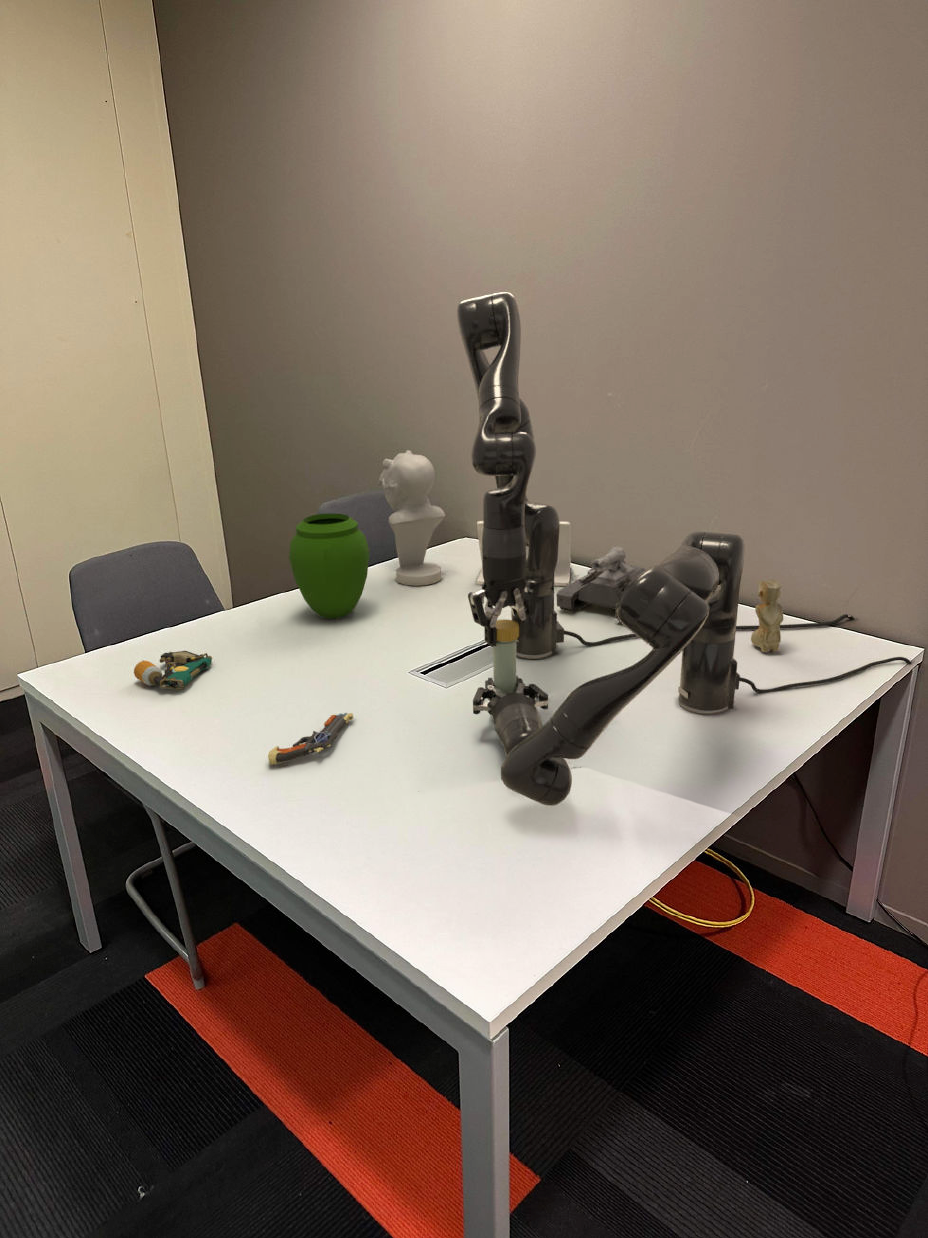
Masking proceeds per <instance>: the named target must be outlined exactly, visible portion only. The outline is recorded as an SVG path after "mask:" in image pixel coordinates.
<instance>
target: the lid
mask: <svg viewBox="0 0 928 1238" xmlns="http://www.w3.org/2000/svg"><path fill="white" fill-rule="evenodd" d="M495 627H497V641H501V642H508V641H513V640H516V639H517V638H518V637H519V624H518V623H517V622H516V621H513V620H511V619H497V622H496V625H495Z"/></svg>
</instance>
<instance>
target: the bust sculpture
mask: <svg viewBox="0 0 928 1238" xmlns="http://www.w3.org/2000/svg"><path fill="white" fill-rule="evenodd" d="M382 465H383V467H384V469H383V471H382V472H381V474H380V476H379V479H378V486H382V488H383V491H384V497H385V500H386V502H387V504H388V505H389V506H390V508H391V509H392V510H393V513H392V514H391V515H390V516H389V517H388V524H389V527H390V528H391V531H393V533H394V540H395V548H396V554H397V559H398V564H399V566H398V567H397V568H396V569H395V575H396V576H395V578H396V582H398V583H399V584H402V585H406V586H416V587H417V586H429V585H432V584H435V583H438V582H440V581H441V580H442V579H443V575H442V573H443V572H442V566H440V565H438V564H435V563H429V562H425V557H426V554H427V551H428V547H429V544H430V542H431V538H432V536H433V534H434V532H435V530H436V528H437V527H438V525H440V523H441V522H442V521H443V520H444V519H445V518H446V513H445V511H444V510H443V509H442V507H439V506H437V505H431V502H430V499H429V496H428V494H429V493H430V492H431V490H432V488H433V485H434V481H435V468H434V466H433V463H432V462H431V461H430V460H429V459H428V458H427V457H426V456H424V455H421V454H413V452H412V451H411V450H409V449H406V451H405V452H402V453H401V452H400V453H398V454H396V456H394V458H393V459H390V458H384V460H383V461H382Z"/></svg>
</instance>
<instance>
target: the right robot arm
mask: <svg viewBox="0 0 928 1238" xmlns="http://www.w3.org/2000/svg"><path fill="white" fill-rule="evenodd" d="M745 551H746V547H745V541H744V539H743V537H742V536H741V535H738V534H733V533H720V532H709V531H694V532H691V533H689V534H688V535H687V536H686V537H685V538H684V539H683V541H682V542H681V544H680V545H679V547H678V548H677V549H676V550H675V551H674V552H672V553H670V554H669V555H668V556H666V558H664V559H663V560H662V561H661V562H660V563H659V564H656V565H653V566H651V567H649V568H647V569H645V571H643V572H642V573H641V574H639V575H638V576H637V577H636V578H634V579H633V580H632V581H631V582H630V583H629V585H628V586H627V587H626V588H625V590H624V591H623V592H622V594H621V596H620V598H619V600H618V603H617V608H616V613H617V617H618V619H619V620H618V619H617V620H618V621H620V623H621V624H622V625H623V626H624V627H625V628H627V630H629V631H630V632H631V633H632V634H635V635H637V636H638V637H637V638H639V639H640V640H641V641H643V642H644V643H646V644H648V646H650V648H651V650H650V652H648V653H647V654H646V655H645V656H644V657H643V658H642V659H639V661H637V662H636V663H634V664H632V665H630V666H628V667H625V668H624V669H620V670H618V671H615V672H611V673H609V674H606V675H603V676H599V677H596V678H594V679H591V680H588V681H585V682H584V683H582V684H580V685H579V686H577V687H576V688H575V689H574V690H572V691H571V692H570V693H569V694H568V695H567V696H566V698H565V699H564V700H563V702H562V703H561V704H560V705H559V707H558V708H557V709H556V710H555V712H554V713H553V715H552V716H551V717H550V719H548V721H547V722H546V723H545V724H543V722H542V720H541V718H540V714H539V712H538V710H537V708H540V709H542V710H548V709H549V698H550V697H549V694H548V693H546V691H544V690H543V689H541V688H540V687H539V686H537V684H535V683H528V685H526V684H525V682H524V681H523V679H522V678H521V677H519V676H518V675H516V692H513V693H503V692H502V691H501V690H500V689H499V688H495V685H494V678H493V677H487V679H486V680H485V681H484V687H482V686H480V687H477V689H476V692H475V694H474V696H473V699H472V714H474V715H479V714H481V712H484V711H485V712H487V713H488V714H489V715H490V716H491V717H492V720H493V723H494V727H495V732H496V735H497V737H498V739H499V742H500V743H501V745H502V747H503V750H504V753H505V758H504V759H503V761H502V764H501V768H500V776H501V777H500V778H501V781H502V783H503V785H504V786H505V787H506V788H507V789H509V790H511V791H512V792H515V793H517V794H519V795H521V796H523V797H526V798H527V799H530V800H532V801H535V802H537V803H539V804H541V805H544V806H550V807H551V806H556V805H559V804H561V803H562V802H564V801H565V800H566V799H567V797H568V795H569V794H570V792H571V788H572V783H573V775H572V771H571V768H570V766H569V763H568V762H567V760H578V759H580V758H582V757H584V755H586V753H587V752H588V751H589V750H590V748H591V747H593V744H594V743H595V742H596V741H597V740H598V738H599V737H600V736H601V735H602V734H603V732H604V731H605V730H606V729H607V727H608V726H609V725H610V724H611V723H612V722H613V720H615V718H617V716H618V715H619V714H620V713H621V712H622V711H623V710H624V709H625V708H626V707H627V706H628V705H630V703H631V702H632V701H633V700H634V699H635V698H636V697H638V696H639V695H640V694H641V693H642V692H643V691H644V690H645V689H646V688H648V686H649V685H650V684H651V683H652V682H653V681H654V680H655V679H656V678H657V677H658V676H659V675H660V674H661V673H662V672H664V670H665V669H666V668H667V667H668V666H669V665H670V664H671V663H672V662H673V661H674V660H675V659H676V658H677V657H678V656H679V655H680V654H681V664H680V676H679V677H680V678H679V686H678V691H677V692H678V700H677V701H678V704H679V705H680V707H681V708H683V709H685V710H687V711H688V712H692V713H695V714H701V715H717V714H722V713H724V712H726V711H728V710H731V709H732V710H733V709H734V706H735V694H736V691H737V690H739V689H740V682H741V683H745V684H747V685H748V686H750V687H751V689H752V690H753V691H754V692H755V693H758V694H767V693H774V692H780V691H783V690H787V689H791V688H798V687H799V688H800V687H807V686H814V685H821V684H826V683H831V682H835V681H838V680H842V679H844V678H847V677H849V676H852V675H855V674H857V673H860V672H862V671H866V670H867V669H870V668H872V667H875V666H879V665H885V664H888V663H892V662H895V661H902V662H905V663H906V664H908V665H911V664H912V662H911V660H909V658H907V657H905V656H894V657H890V658H886V659H882V660H881V659H880V660H877V661H873V662H870V663H868V664H865V665H863V666H860V667H858V668H855V669H853V670H849V671H847V672H844V673H842V674H839V675H836V676H832V677H829V678H824V679H823V678H822V679H818V680H809V681H802V682H795V683H789V684H785V685H781V686H777V687H774V688H768V689H767V688H766V689H761V688H757V687H756V685H755V683H754V682H753V680H750V679H747V678H745V677H741V675H740V674H739V672H737V670H738V661H737V660H736V659H735V658H734V657H735V656H734V655H735V646H736V645H735V644H736V633H737V630H736V626H737V623H738V622H737V621H738V612H739V611H738V609H739V599H740V590H741V582H742V574H743V569H744V563H745V557H746V556H745V554H746V552H745ZM718 587H720V589H718ZM717 589H718V590H717ZM486 700H488V701H489V702H487V703H486ZM566 759H567V760H566Z"/></svg>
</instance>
